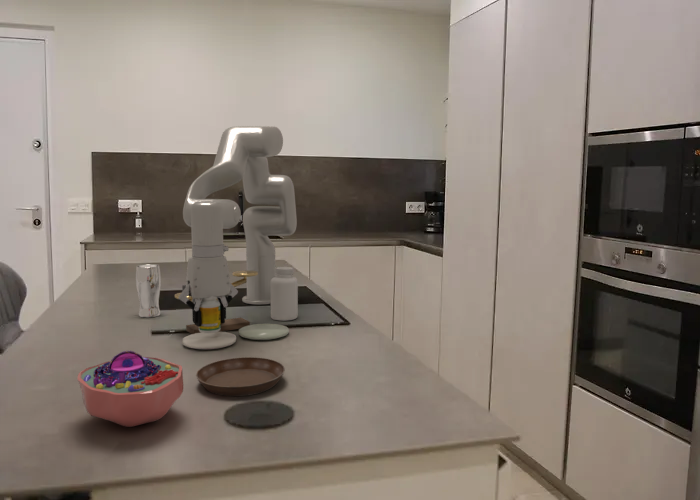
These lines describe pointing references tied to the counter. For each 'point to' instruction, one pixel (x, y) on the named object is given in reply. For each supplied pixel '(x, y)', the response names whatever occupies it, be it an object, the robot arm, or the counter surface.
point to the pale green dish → (263, 331)
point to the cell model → (131, 388)
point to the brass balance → (229, 323)
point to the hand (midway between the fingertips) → (209, 323)
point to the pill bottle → (284, 295)
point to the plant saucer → (240, 376)
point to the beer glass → (148, 289)
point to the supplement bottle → (210, 315)
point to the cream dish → (209, 340)
